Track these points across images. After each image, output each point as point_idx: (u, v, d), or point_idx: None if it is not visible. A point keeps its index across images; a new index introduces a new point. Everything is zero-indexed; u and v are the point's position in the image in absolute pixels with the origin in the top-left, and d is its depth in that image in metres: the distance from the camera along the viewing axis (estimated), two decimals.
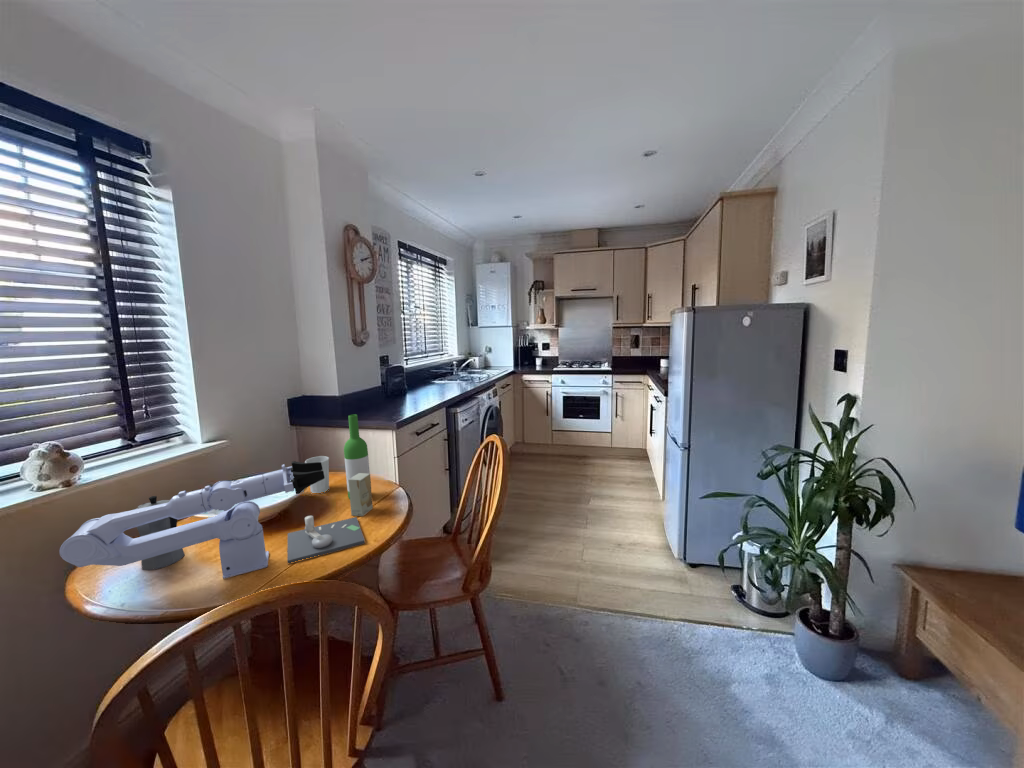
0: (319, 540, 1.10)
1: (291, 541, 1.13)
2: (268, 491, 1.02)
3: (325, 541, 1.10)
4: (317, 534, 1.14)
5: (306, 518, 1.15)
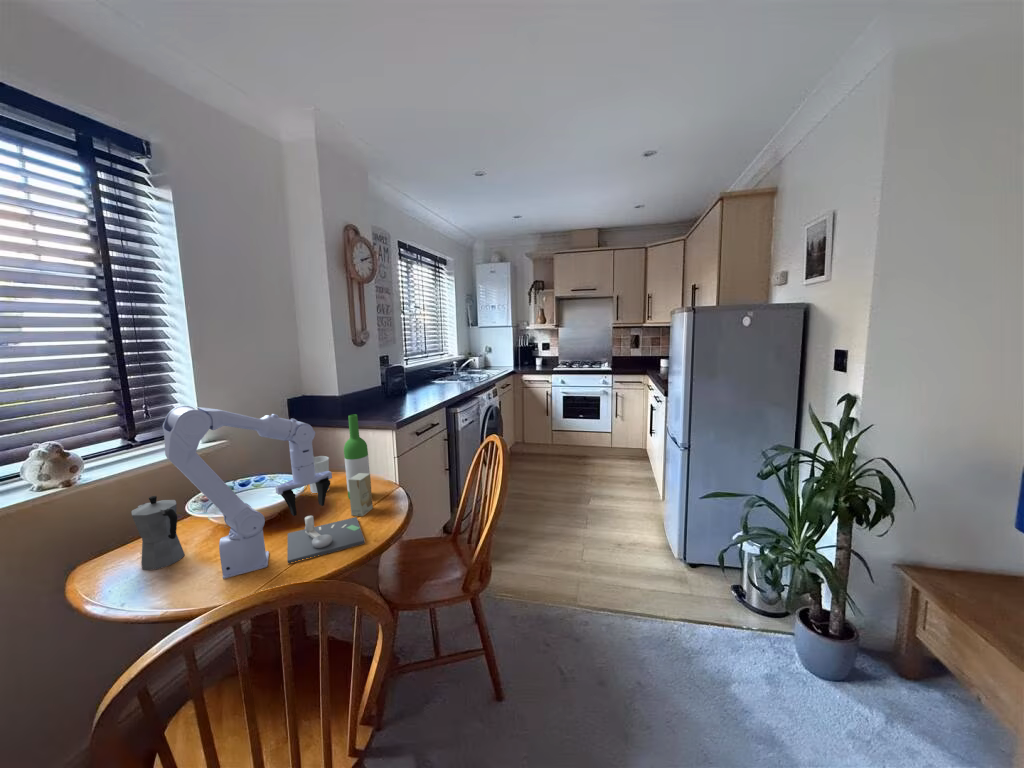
0: (319, 540, 1.10)
1: (291, 541, 1.13)
2: None
3: (325, 541, 1.10)
4: (317, 534, 1.14)
5: (306, 518, 1.15)
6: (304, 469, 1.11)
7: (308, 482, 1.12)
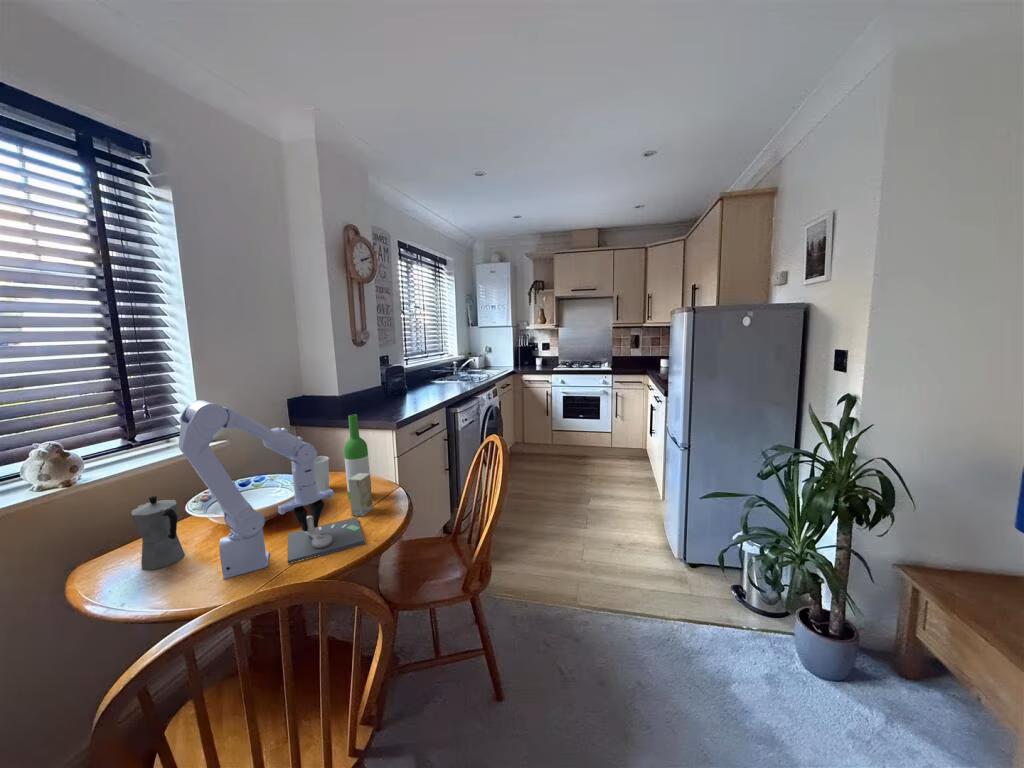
0: (319, 540, 1.10)
1: (291, 541, 1.13)
2: None
3: (325, 541, 1.10)
4: (317, 534, 1.14)
5: None
6: (306, 489, 1.12)
7: (310, 501, 1.13)
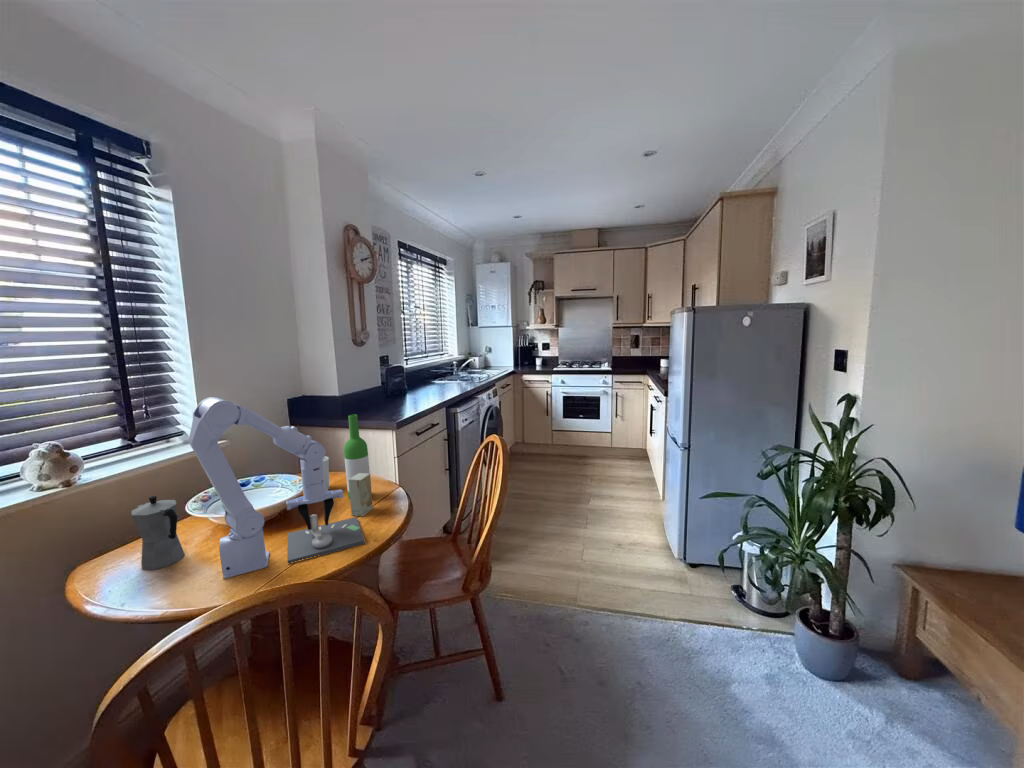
0: (319, 540, 1.10)
1: (291, 541, 1.13)
2: (324, 482, 1.16)
3: (324, 541, 1.10)
4: (319, 533, 1.14)
5: (310, 517, 1.16)
6: (311, 487, 1.13)
7: (315, 500, 1.13)
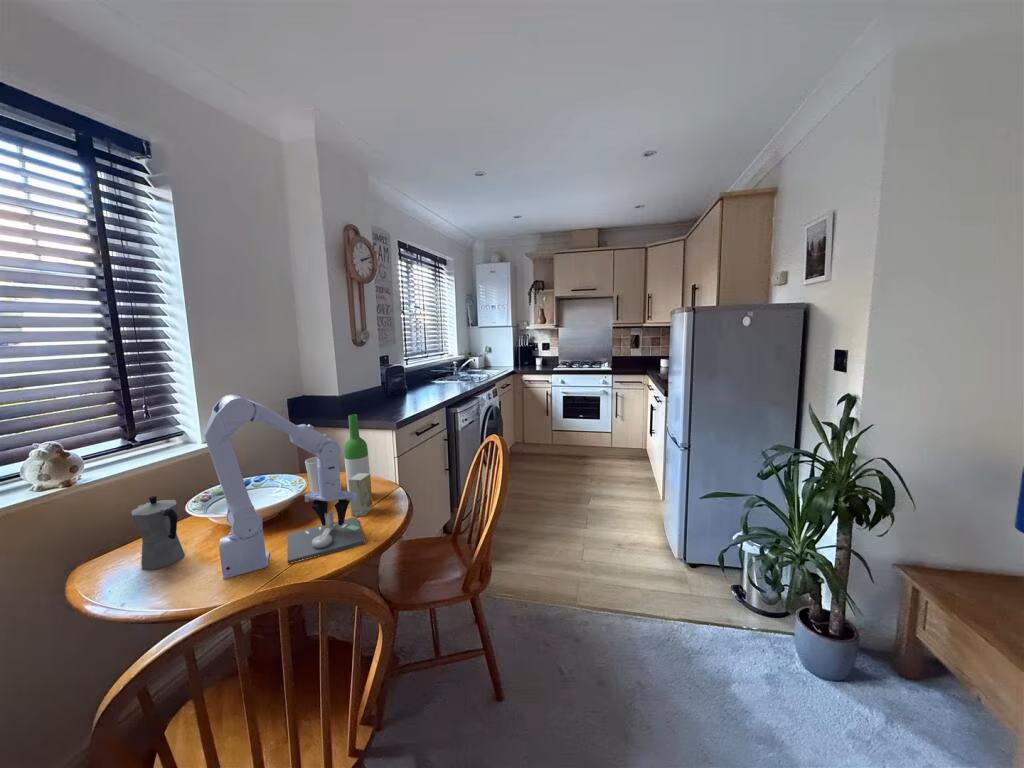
0: (318, 540, 1.11)
1: (291, 541, 1.13)
2: (336, 482, 1.15)
3: (320, 542, 1.09)
4: (326, 532, 1.15)
5: (325, 513, 1.18)
6: (322, 486, 1.14)
7: (325, 499, 1.14)
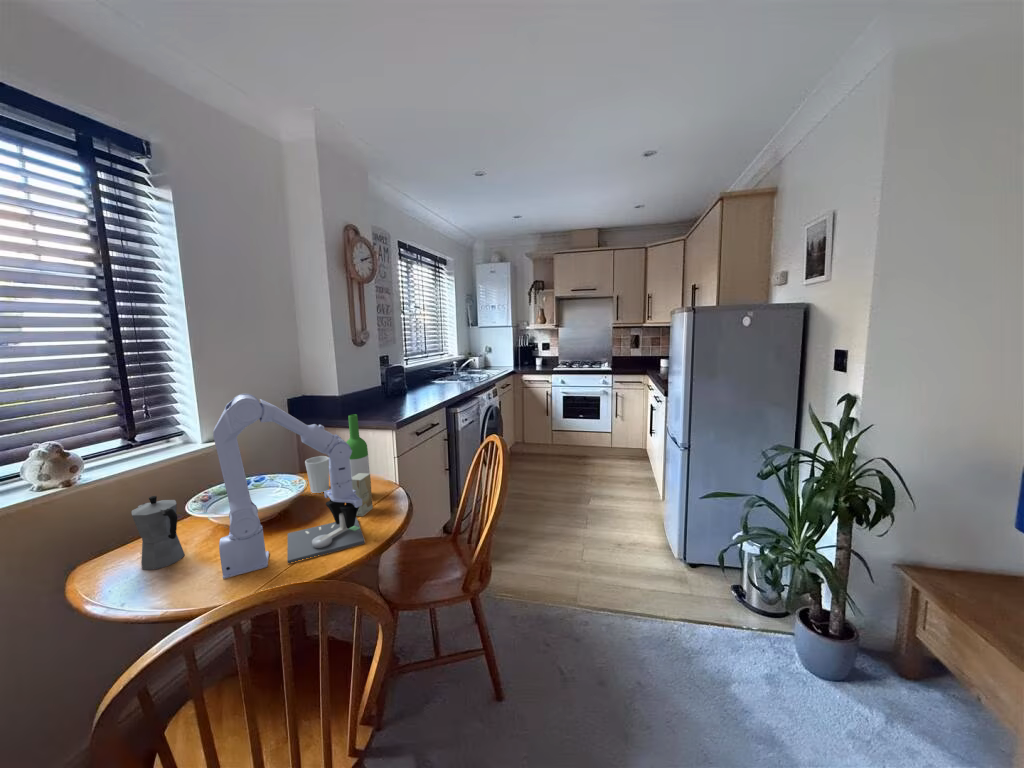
0: (318, 539, 1.11)
1: (291, 541, 1.13)
2: (343, 485, 1.13)
3: (315, 542, 1.09)
4: (333, 533, 1.14)
5: (341, 513, 1.18)
6: (331, 485, 1.14)
7: (332, 499, 1.14)
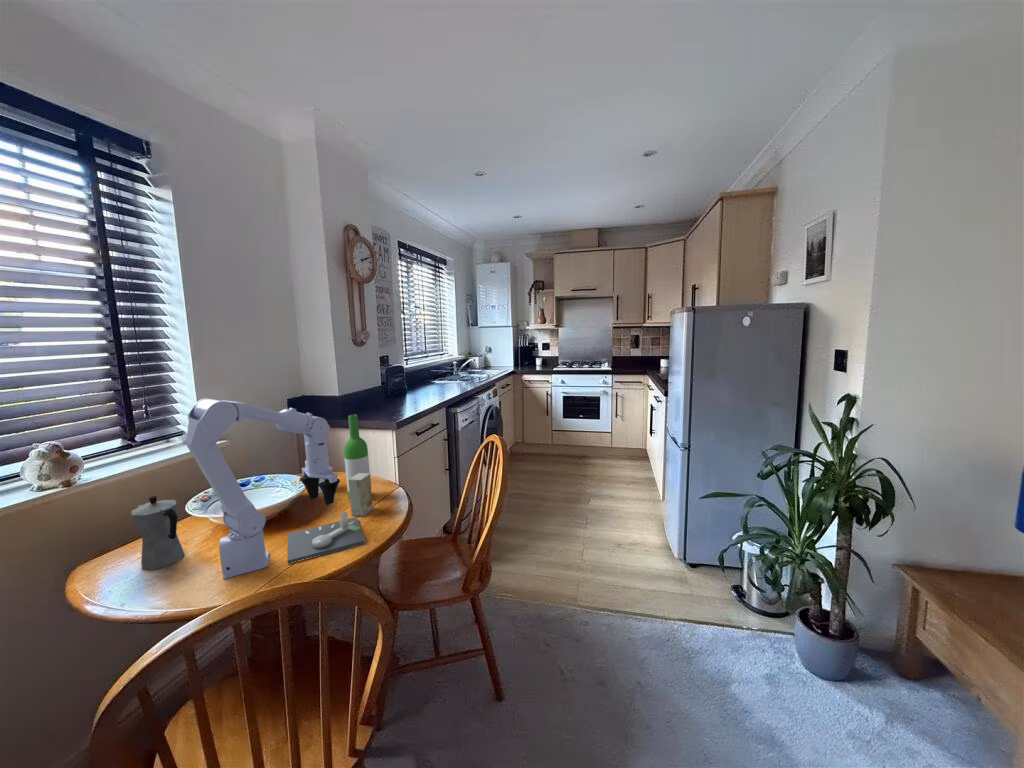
0: (318, 539, 1.11)
1: (291, 541, 1.13)
2: (319, 461, 1.15)
3: (315, 542, 1.09)
4: (333, 533, 1.14)
5: (341, 513, 1.18)
6: (307, 461, 1.16)
7: (308, 475, 1.16)
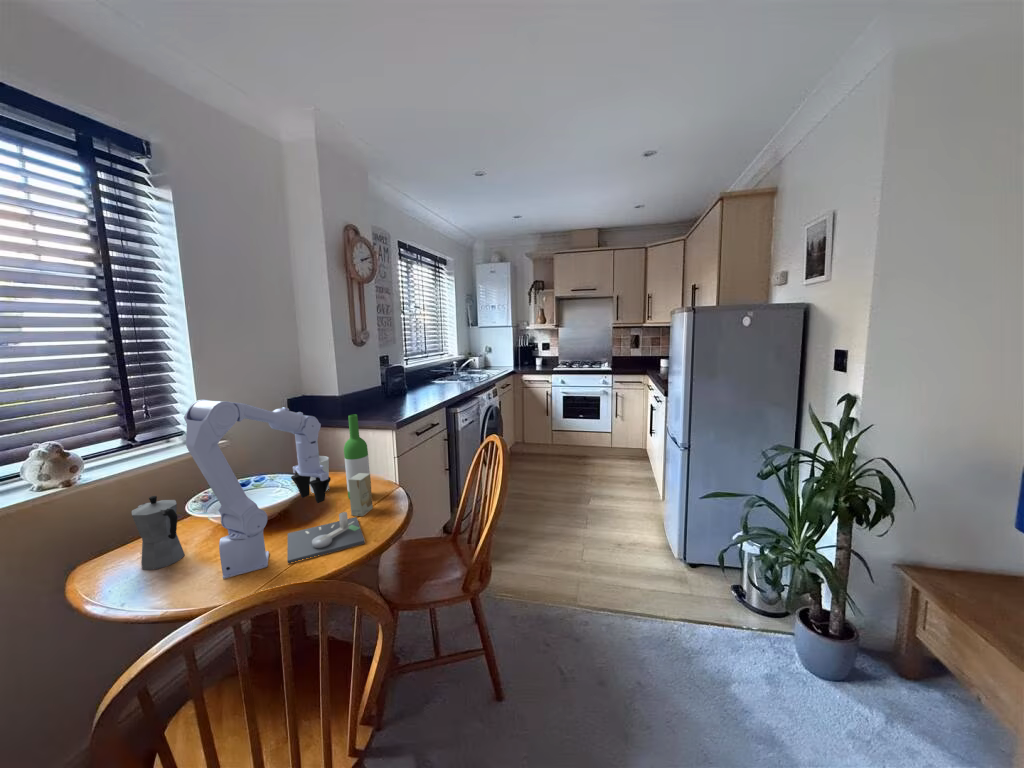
0: (318, 539, 1.11)
1: (291, 541, 1.13)
2: (310, 459, 1.17)
3: (315, 542, 1.09)
4: (333, 533, 1.14)
5: (341, 513, 1.18)
6: (298, 460, 1.17)
7: (299, 473, 1.17)
